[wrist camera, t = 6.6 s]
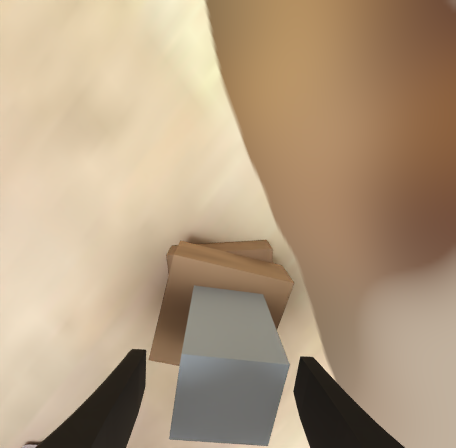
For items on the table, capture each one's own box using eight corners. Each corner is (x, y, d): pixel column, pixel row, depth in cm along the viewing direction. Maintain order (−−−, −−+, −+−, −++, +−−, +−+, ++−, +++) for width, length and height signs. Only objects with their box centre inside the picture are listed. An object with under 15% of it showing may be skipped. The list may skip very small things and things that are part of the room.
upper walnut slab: (252, 350, 17) (258, 380, 15) (158, 331, 17) (148, 360, 14) (282, 265, 16) (293, 283, 13) (180, 240, 15) (173, 254, 13)
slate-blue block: (250, 352, 14) (267, 446, 10) (185, 345, 14) (169, 439, 9) (262, 294, 14) (289, 364, 9) (193, 285, 13) (181, 353, 8)
